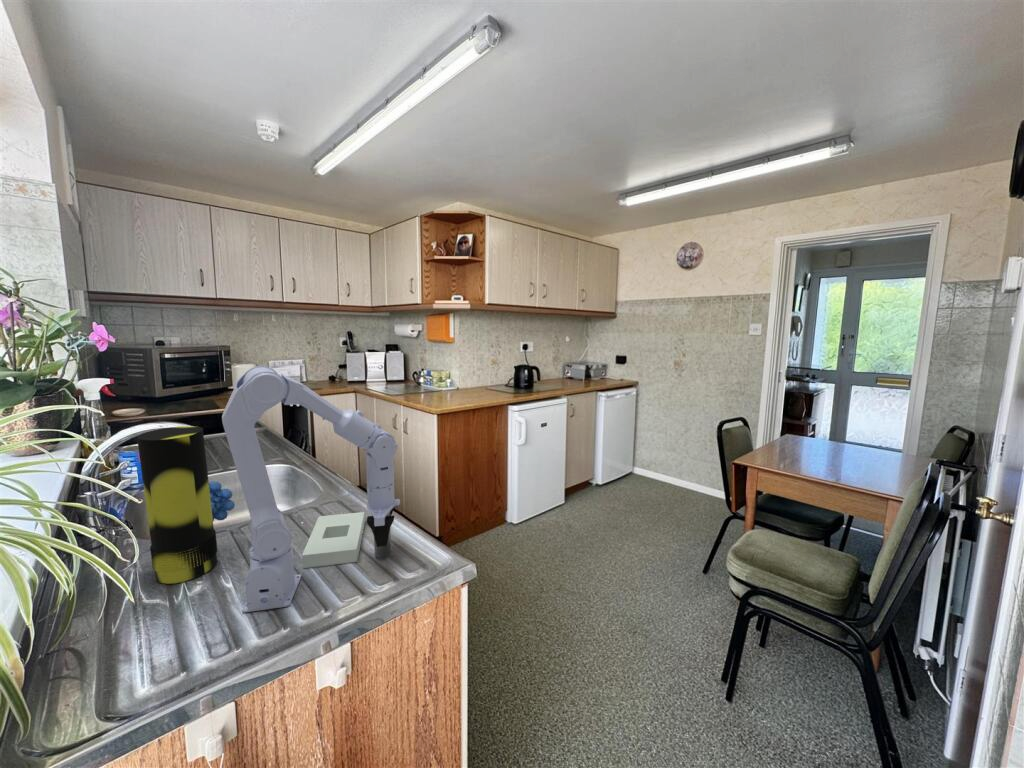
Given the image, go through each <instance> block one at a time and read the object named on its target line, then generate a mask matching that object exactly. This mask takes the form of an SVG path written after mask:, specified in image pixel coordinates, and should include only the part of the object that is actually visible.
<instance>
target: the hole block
mask: <svg viewBox="0 0 1024 768" xmlns="http://www.w3.org/2000/svg"><path fill="white" fill-rule="evenodd" d="M365 514H366V513H365V511H361V512H360V511H359V512H352V513H350V512H349V513H339V514H330V515H329V514H327V515H320V516H318V518H317V520H316V522H315V524H314V527H313V529H312V531H311V533H310V535H309V538H308V540H307V543H306V546H305V548H304V549H303V552H302V554H301V563H302V569H308V568H317V567H324V566H325V567H327V566H332V565H334V566H335V565H342V564H350V563H356V562H357V563H358V560H359V555H360V549H361V544H362V539H363V535H362V534H364V530H363V529H365V525H364V524H365V523H366V520H365V519H366V517H365Z"/></svg>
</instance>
